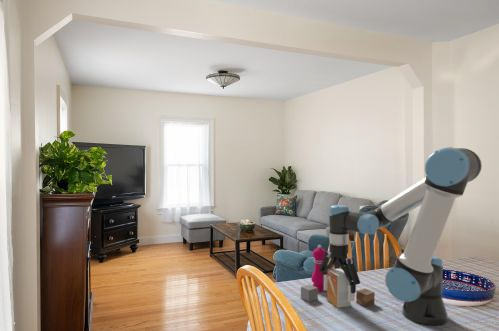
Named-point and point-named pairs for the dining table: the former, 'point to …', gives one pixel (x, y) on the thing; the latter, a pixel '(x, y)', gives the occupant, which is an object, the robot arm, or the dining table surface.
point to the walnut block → (365, 297)
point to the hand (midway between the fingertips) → (338, 295)
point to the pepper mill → (317, 275)
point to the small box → (337, 288)
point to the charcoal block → (309, 293)
